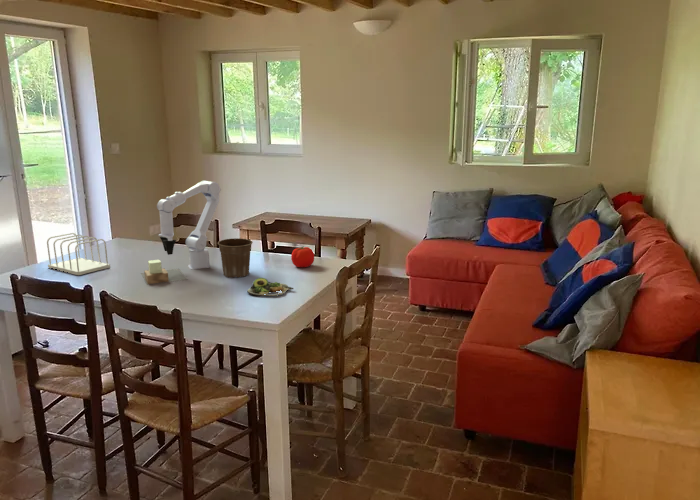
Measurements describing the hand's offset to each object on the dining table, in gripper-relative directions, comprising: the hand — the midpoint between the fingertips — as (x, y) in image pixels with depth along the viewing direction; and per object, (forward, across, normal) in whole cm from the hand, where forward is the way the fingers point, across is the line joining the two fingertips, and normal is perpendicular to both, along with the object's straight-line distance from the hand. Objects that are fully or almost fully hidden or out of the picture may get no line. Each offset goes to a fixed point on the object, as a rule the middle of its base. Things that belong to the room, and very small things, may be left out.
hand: (168, 252), depth 265 cm
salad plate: (+11, +46, +33) cm, 58 cm away
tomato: (+10, +17, +62) cm, 65 cm away
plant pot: (+10, +16, +28) cm, 34 cm away
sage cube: (+6, +10, -8) cm, 14 cm away
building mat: (+10, +5, -4) cm, 12 cm away
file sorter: (+11, -30, -38) cm, 50 cm away
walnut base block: (+10, +10, -8) cm, 16 cm away
